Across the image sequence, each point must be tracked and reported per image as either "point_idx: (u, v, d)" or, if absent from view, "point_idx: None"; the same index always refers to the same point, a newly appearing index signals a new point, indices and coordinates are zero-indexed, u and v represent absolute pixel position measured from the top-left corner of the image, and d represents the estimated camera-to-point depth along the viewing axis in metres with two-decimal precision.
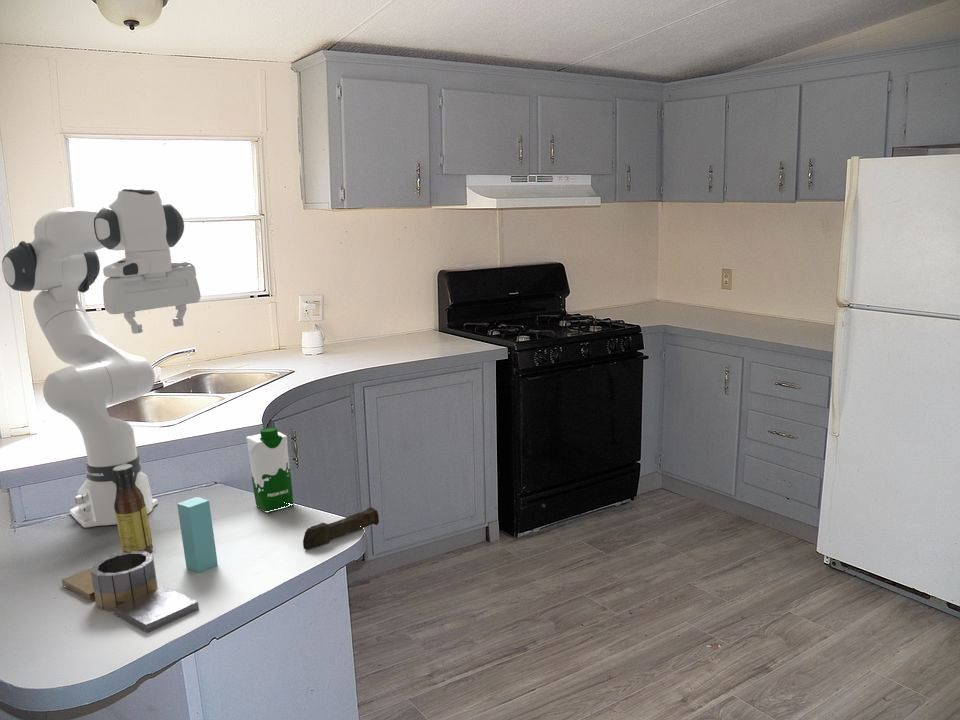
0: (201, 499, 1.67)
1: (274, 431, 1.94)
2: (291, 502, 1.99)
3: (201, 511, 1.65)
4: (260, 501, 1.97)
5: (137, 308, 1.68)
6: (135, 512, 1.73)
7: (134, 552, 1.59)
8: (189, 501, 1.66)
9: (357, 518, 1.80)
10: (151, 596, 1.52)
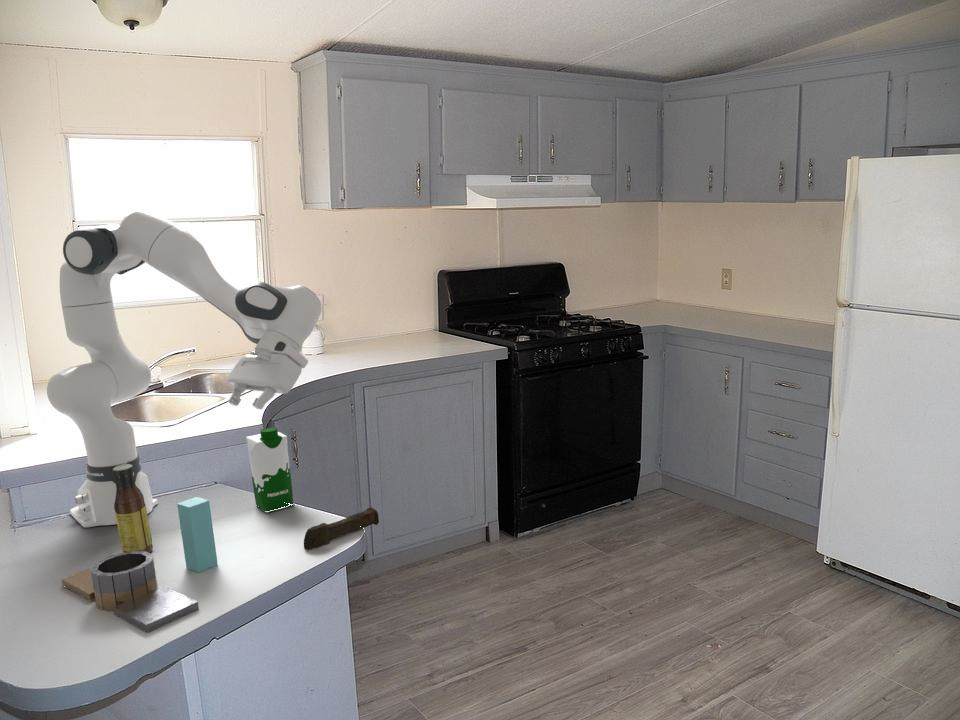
0: (201, 499, 1.67)
1: (274, 431, 1.94)
2: (291, 502, 1.99)
3: (201, 511, 1.65)
4: (260, 501, 1.97)
5: None
6: (135, 512, 1.73)
7: (134, 552, 1.59)
8: (189, 501, 1.66)
9: (357, 518, 1.80)
10: (151, 596, 1.52)
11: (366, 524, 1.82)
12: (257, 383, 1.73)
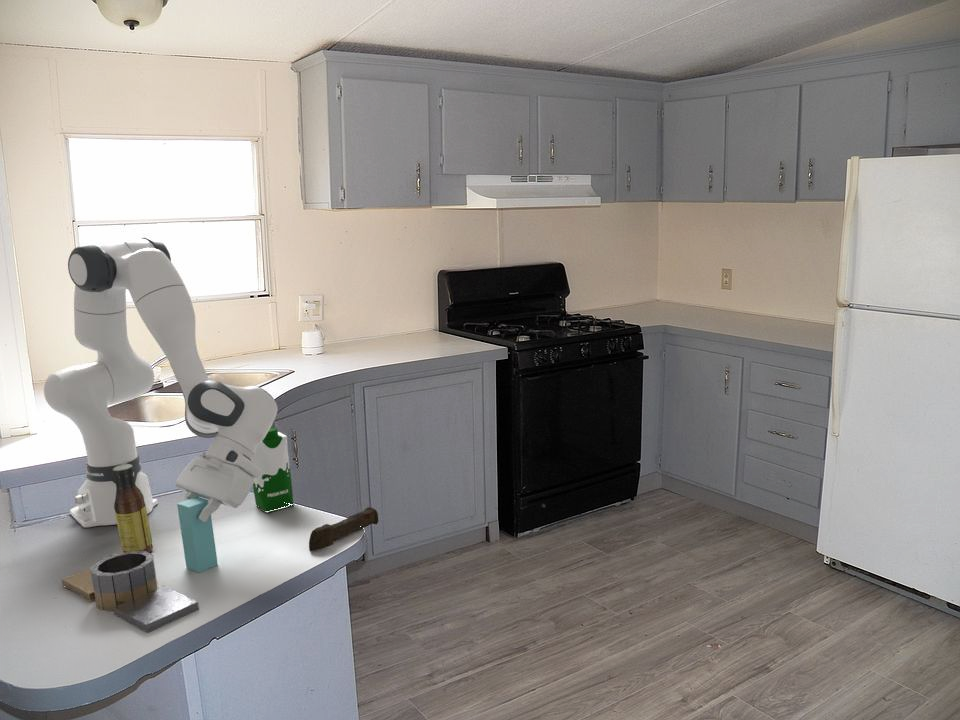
0: (201, 499, 1.67)
1: (274, 431, 1.94)
2: (291, 502, 1.99)
3: None
4: (260, 501, 1.97)
5: None
6: (135, 512, 1.73)
7: (134, 552, 1.59)
8: (189, 501, 1.66)
9: (359, 518, 1.80)
10: (151, 596, 1.52)
11: (366, 524, 1.82)
12: (206, 494, 1.65)
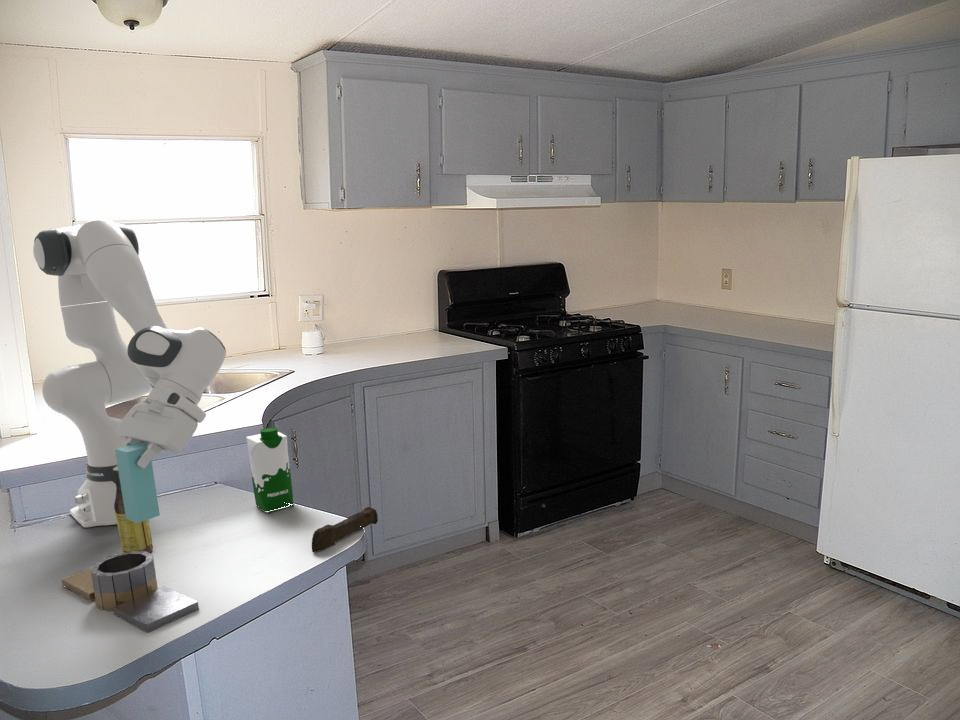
0: (141, 445, 1.56)
1: (274, 431, 1.94)
2: (291, 502, 1.99)
3: None
4: (260, 501, 1.97)
5: None
6: None
7: (134, 552, 1.59)
8: (128, 447, 1.55)
9: (359, 518, 1.80)
10: (151, 596, 1.52)
11: (366, 523, 1.82)
12: (146, 439, 1.54)
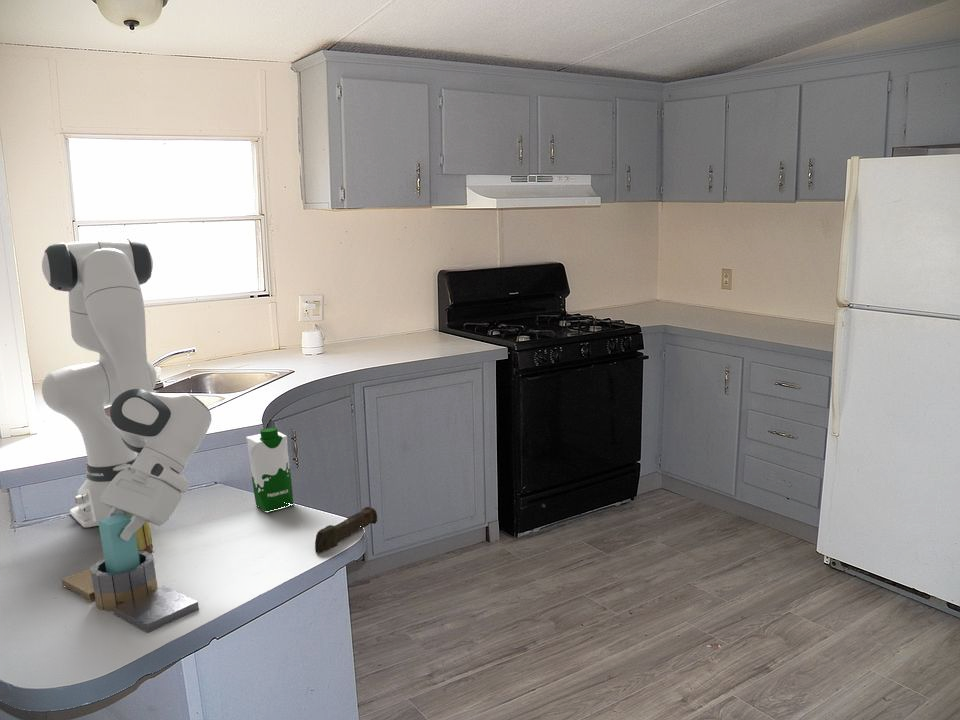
0: (125, 516, 1.54)
1: (274, 431, 1.94)
2: (291, 502, 1.99)
3: None
4: (260, 501, 1.97)
5: None
6: None
7: None
8: (111, 518, 1.53)
9: (359, 518, 1.80)
10: (151, 596, 1.52)
11: (366, 523, 1.82)
12: (129, 511, 1.52)
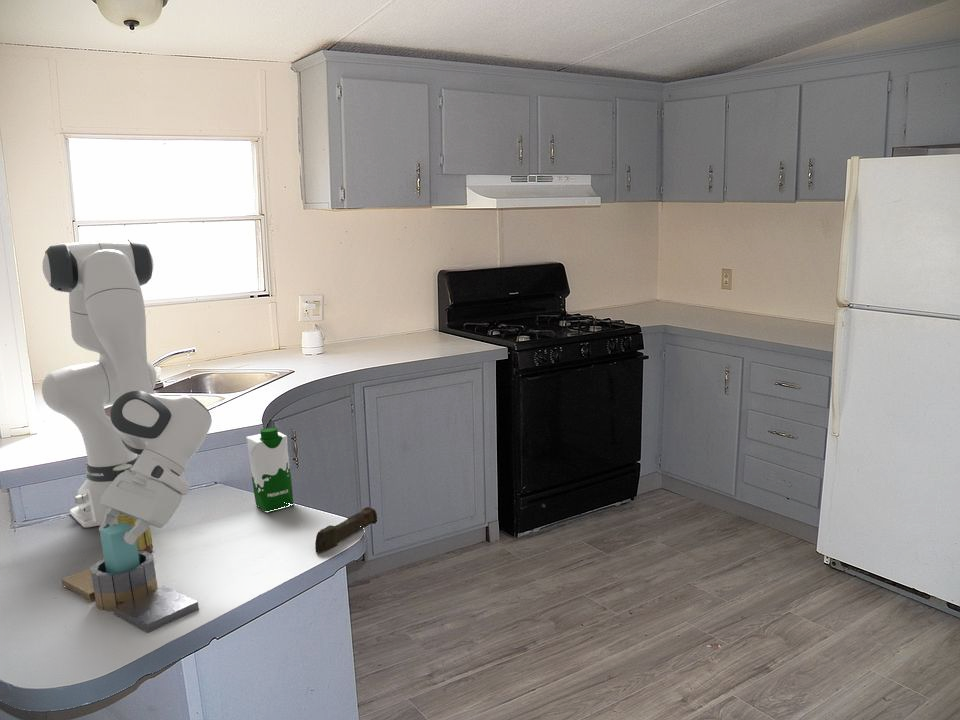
0: (126, 525, 1.55)
1: (274, 431, 1.94)
2: (291, 502, 1.99)
3: None
4: (260, 501, 1.97)
5: None
6: None
7: None
8: (112, 528, 1.54)
9: (359, 518, 1.80)
10: (151, 596, 1.52)
11: (366, 524, 1.82)
12: (130, 513, 1.52)
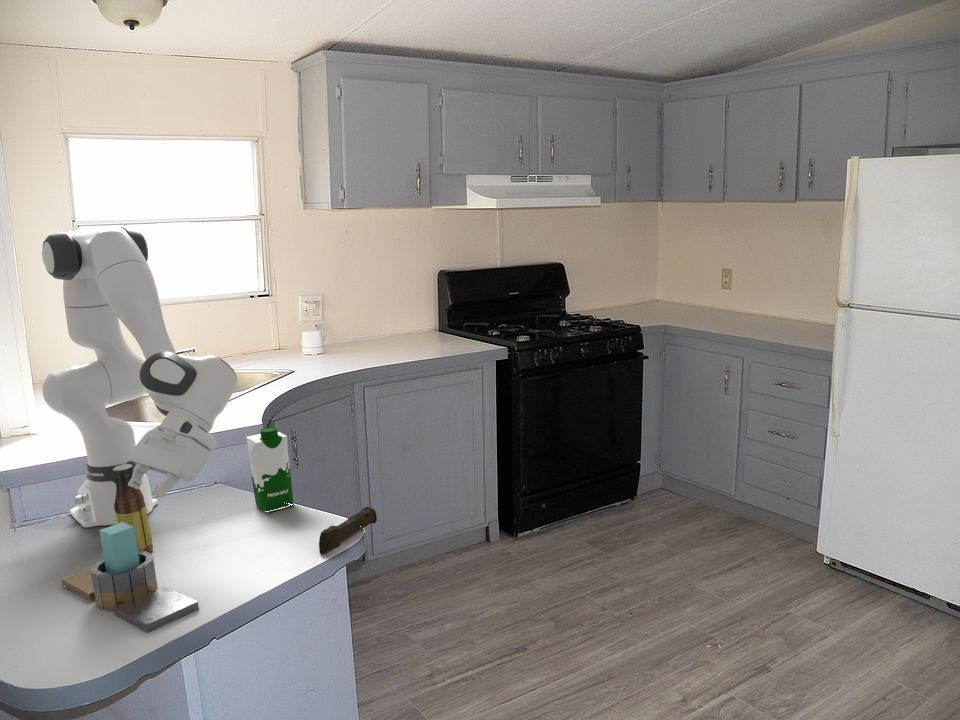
0: (126, 525, 1.55)
1: (274, 431, 1.94)
2: (291, 502, 1.99)
3: (125, 538, 1.53)
4: (260, 501, 1.97)
5: None
6: (135, 512, 1.73)
7: None
8: (112, 528, 1.54)
9: (360, 518, 1.80)
10: (151, 596, 1.52)
11: (367, 523, 1.82)
12: (159, 467, 1.57)
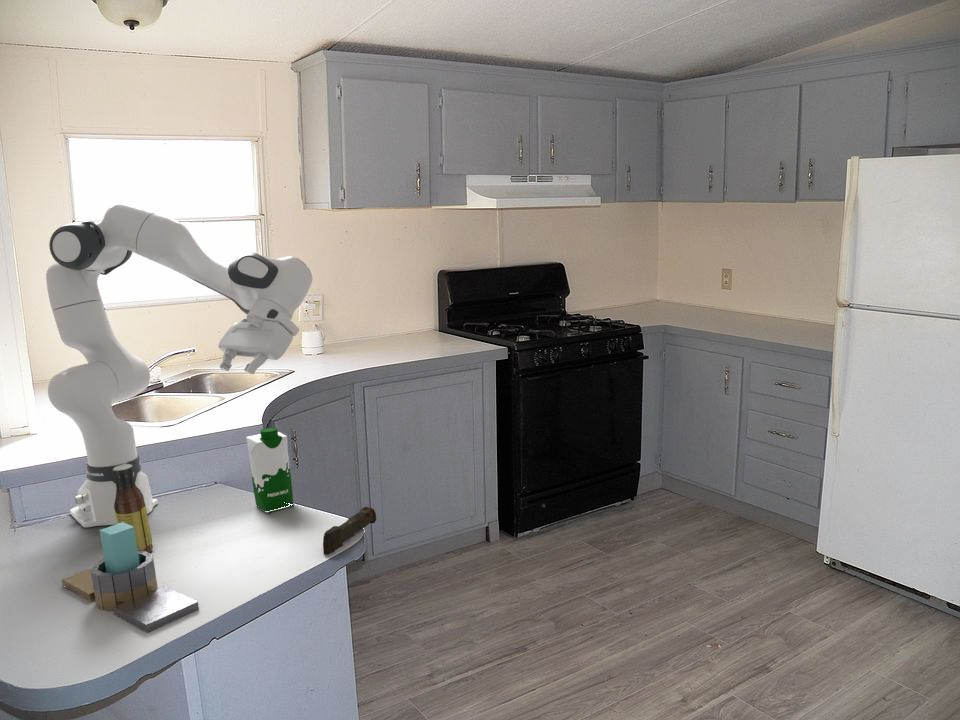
0: (126, 525, 1.55)
1: (274, 431, 1.94)
2: (291, 502, 1.99)
3: (125, 538, 1.53)
4: (260, 501, 1.97)
5: None
6: (135, 512, 1.73)
7: None
8: (112, 528, 1.54)
9: (361, 518, 1.80)
10: (151, 596, 1.52)
11: (367, 523, 1.82)
12: (249, 349, 1.77)
